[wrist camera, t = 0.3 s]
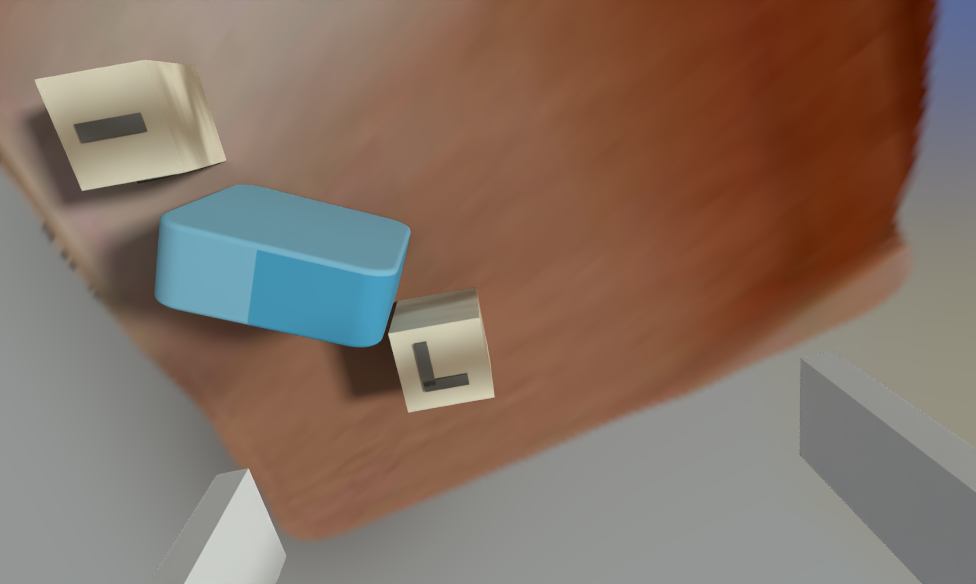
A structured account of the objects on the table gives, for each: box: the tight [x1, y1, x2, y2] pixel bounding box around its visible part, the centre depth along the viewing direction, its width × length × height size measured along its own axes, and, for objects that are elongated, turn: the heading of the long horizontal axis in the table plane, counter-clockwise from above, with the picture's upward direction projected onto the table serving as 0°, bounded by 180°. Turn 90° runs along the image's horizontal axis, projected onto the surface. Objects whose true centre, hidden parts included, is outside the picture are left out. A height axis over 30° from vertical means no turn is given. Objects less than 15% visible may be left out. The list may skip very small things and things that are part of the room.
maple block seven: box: [388, 287, 494, 412], centre depth 39 cm, size 6×6×6 cm
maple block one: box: [35, 60, 226, 191], centre depth 33 cm, size 6×6×6 cm
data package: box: [155, 185, 411, 347], centre depth 33 cm, size 12×4×12 cm, turn 75°
